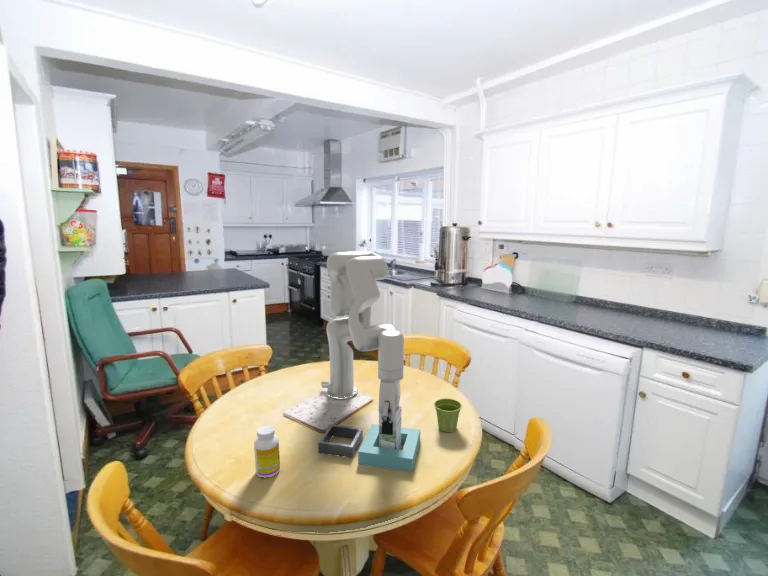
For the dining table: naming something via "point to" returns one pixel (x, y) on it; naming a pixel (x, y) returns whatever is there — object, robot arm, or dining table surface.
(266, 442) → the supplement bottle
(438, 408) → the plant pot
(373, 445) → the socket block
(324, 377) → the dining table surface
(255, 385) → the dining table surface
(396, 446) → the syrup box
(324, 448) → the box stand
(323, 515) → the dining table surface
